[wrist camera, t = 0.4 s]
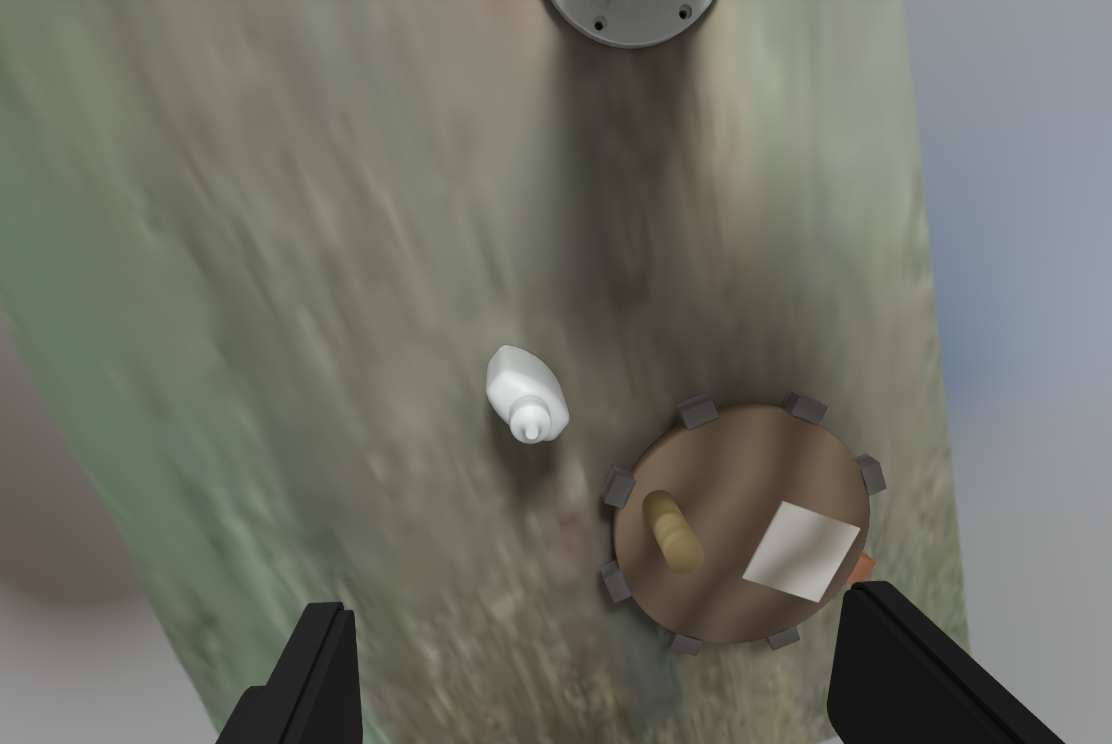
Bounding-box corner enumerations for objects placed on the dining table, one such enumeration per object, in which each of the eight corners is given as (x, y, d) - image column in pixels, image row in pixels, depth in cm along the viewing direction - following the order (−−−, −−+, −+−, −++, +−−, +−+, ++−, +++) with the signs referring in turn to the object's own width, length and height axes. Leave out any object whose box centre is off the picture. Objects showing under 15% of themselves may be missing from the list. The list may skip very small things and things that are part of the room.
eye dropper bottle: (512, 418, 45) (515, 490, 33) (482, 352, 43) (474, 404, 32) (565, 397, 45) (586, 461, 33) (537, 330, 43) (549, 373, 32)
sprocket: (551, 601, 47) (561, 684, 39) (668, 342, 42) (708, 374, 34) (792, 671, 51) (849, 761, 43) (925, 442, 46) (1017, 493, 38)
